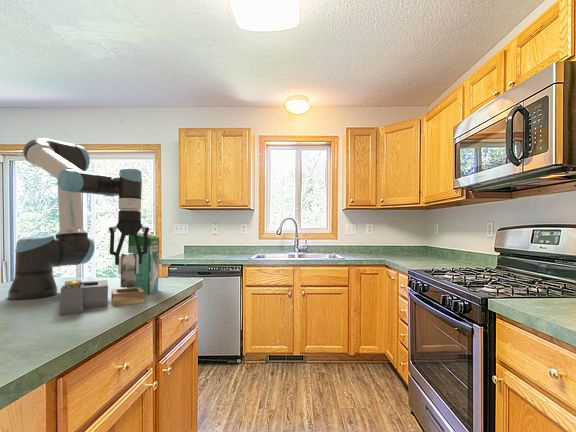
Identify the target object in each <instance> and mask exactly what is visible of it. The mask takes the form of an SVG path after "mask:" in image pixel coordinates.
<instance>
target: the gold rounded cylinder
mask: <svg viewBox="0 0 576 432" xmlns="http://www.w3.org/2000/svg"><path fill="white" fill-rule="evenodd" d="M81 282H82V280H68V281H64V285H67V288H76V287H79V284H81Z"/></svg>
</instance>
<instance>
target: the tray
mask: <svg viewBox="0 0 576 432" xmlns="http://www.w3.org/2000/svg"><path fill="white" fill-rule="evenodd" d="M110 295H111V297H110V299H111V300H110V301H111V304H112V305H111V307H115V306H123V305H125V306H126V305H134V304H144V303H145V295H144V291H143V289H142V288H141V287H135V288H123V287H121V288H114V289H111V294H110Z"/></svg>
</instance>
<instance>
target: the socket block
mask: <svg viewBox="0 0 576 432" xmlns="http://www.w3.org/2000/svg"><path fill="white" fill-rule="evenodd" d="M108 295H109V284H108V280H107V279H103V280H90V281H81V284H79V287H76V288H67V285H65V284H64V285H62V286H61V288H60V298H59V301H60V302H59V316H65V315H74V314H83V313H84V309H93V308H101V307H108V300H109V296H108Z"/></svg>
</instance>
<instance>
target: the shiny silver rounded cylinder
mask: <svg viewBox="0 0 576 432" xmlns="http://www.w3.org/2000/svg"><path fill="white" fill-rule="evenodd" d="M120 256H121V274H120V282H119V283H120V284H119V285H120V288H128V287H134V286H136V253H128V252H126V253H125V252H124V253H121V254H120Z"/></svg>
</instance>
